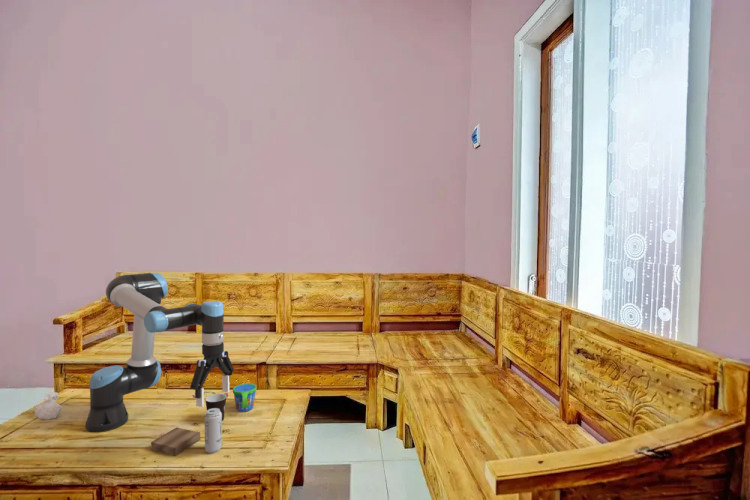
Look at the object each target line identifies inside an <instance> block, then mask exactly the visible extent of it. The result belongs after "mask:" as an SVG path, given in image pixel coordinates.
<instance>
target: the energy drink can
mask: <svg viewBox="0 0 750 500" xmlns="http://www.w3.org/2000/svg"><path fill="white" fill-rule="evenodd" d="M222 447H223V421H222V413H221V412H220V409H219V408H212V409H209V410H207V409H206V413H205V415H204V450H205V452H206V453H208V454H215V453H218V452H219V451H220V450H221V449H222Z"/></svg>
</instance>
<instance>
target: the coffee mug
mask: <svg viewBox="0 0 750 500" xmlns="http://www.w3.org/2000/svg"><path fill="white" fill-rule="evenodd" d="M204 402H205V409H206V411H207V410H209V409H212V408H219V409H220V412H221V413H222V422H224V419H225V414H226V404H227V403H226V402H227V394H224V393H214V394H210V395H208V396H206V397H205V398H204Z"/></svg>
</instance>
